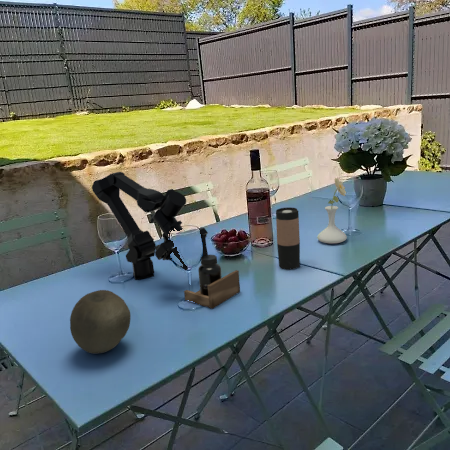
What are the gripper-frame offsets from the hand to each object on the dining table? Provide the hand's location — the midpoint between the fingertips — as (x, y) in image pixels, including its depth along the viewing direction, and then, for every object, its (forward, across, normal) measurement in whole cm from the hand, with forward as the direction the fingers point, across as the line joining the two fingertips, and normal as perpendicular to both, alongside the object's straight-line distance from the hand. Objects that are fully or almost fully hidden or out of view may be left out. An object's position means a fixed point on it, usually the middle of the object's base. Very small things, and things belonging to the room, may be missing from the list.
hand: (197, 264), depth 132 cm
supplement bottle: (+10, 0, -3) cm, 10 cm away
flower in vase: (+16, -62, +4) cm, 65 cm away
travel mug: (+16, -32, +3) cm, 35 cm away
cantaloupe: (+8, +36, -5) cm, 38 cm away
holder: (+10, 0, -3) cm, 11 cm away
